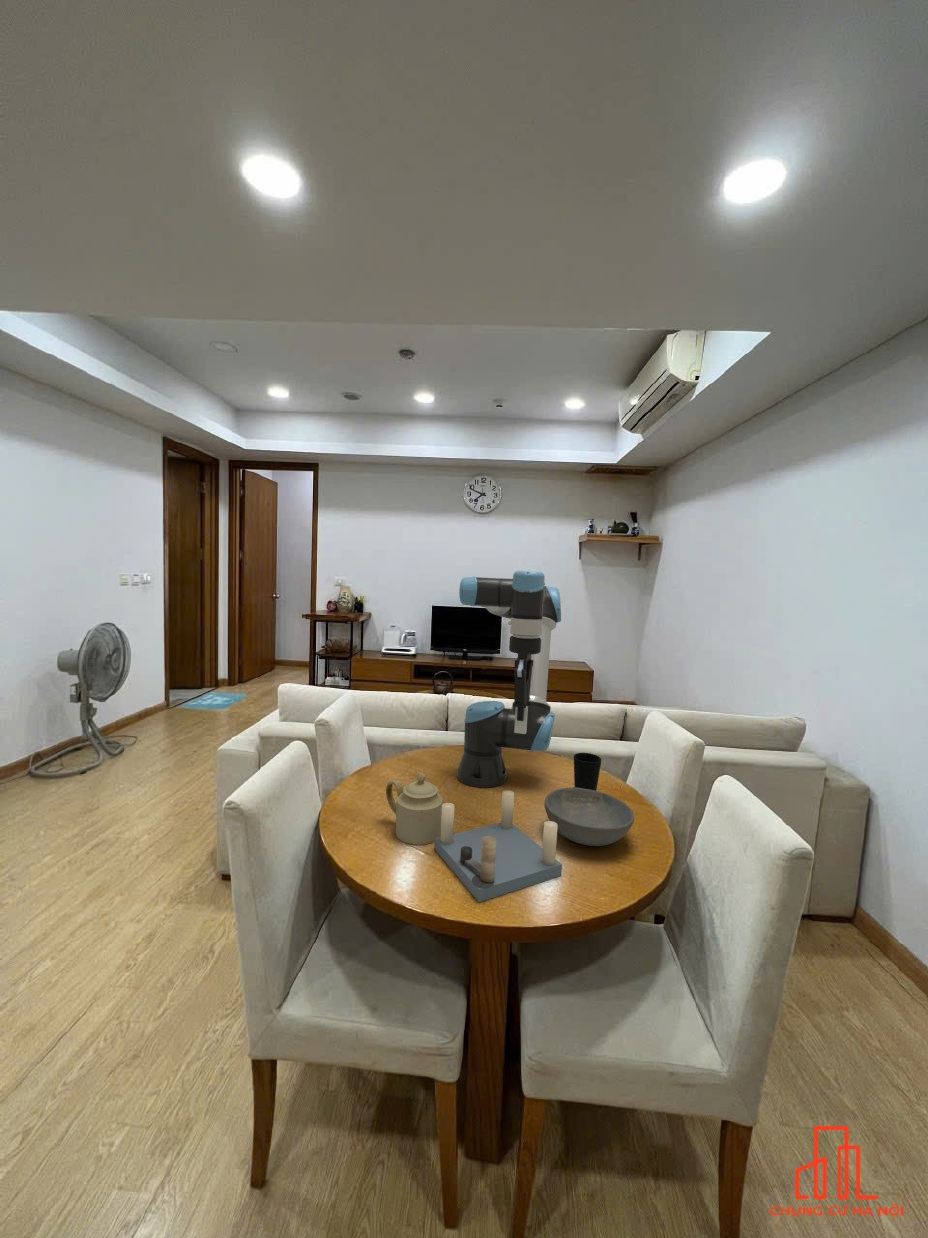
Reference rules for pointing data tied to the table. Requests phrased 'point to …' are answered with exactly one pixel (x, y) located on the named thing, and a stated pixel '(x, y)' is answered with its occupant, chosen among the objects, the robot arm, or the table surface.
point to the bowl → (588, 816)
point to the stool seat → (499, 853)
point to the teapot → (416, 811)
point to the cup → (586, 770)
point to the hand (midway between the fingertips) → (520, 732)
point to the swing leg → (482, 859)
